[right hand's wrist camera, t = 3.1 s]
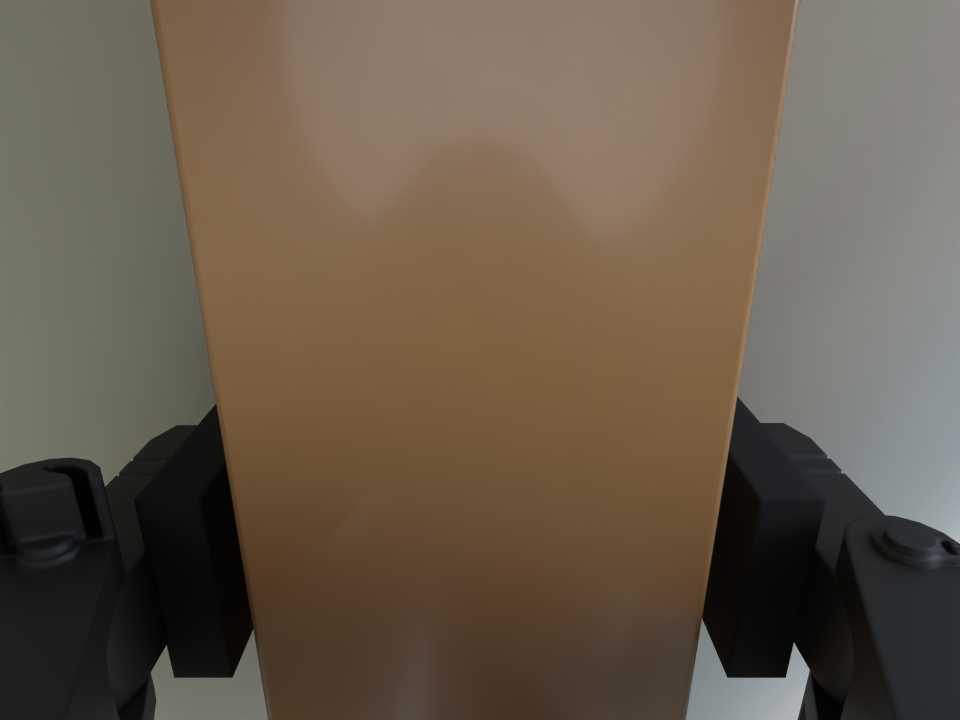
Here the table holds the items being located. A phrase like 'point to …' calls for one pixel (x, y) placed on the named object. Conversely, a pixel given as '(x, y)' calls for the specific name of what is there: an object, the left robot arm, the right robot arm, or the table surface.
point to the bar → (476, 333)
